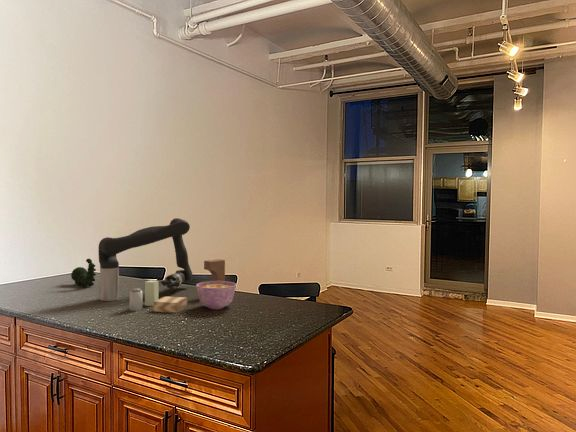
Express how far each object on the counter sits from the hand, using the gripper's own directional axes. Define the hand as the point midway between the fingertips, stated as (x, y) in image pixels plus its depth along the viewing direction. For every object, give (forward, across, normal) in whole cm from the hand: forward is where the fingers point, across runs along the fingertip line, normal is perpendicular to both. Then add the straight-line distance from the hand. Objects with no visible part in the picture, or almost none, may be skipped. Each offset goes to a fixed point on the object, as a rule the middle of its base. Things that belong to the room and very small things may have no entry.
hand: (161, 286), depth 232 cm
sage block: (+12, 0, +7) cm, 14 cm away
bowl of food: (+12, +34, +8) cm, 37 cm away
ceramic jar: (+23, -3, +7) cm, 25 cm away
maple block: (+19, +13, +8) cm, 24 cm away
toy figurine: (-28, -63, +7) cm, 69 cm away
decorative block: (-15, +25, +8) cm, 30 cm away
